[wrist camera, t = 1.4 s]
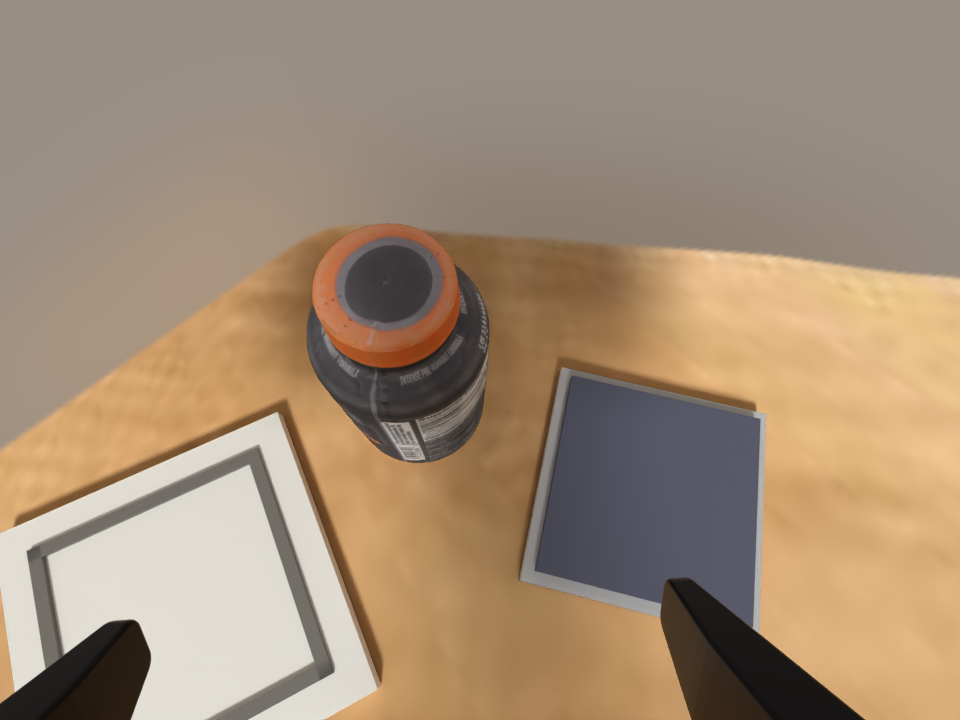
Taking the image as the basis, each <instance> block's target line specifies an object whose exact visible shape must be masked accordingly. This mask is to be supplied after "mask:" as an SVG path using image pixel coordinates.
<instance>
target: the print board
mask: <svg viewBox="0 0 960 720" xmlns="http://www.w3.org/2000/svg"><path fill="white" fill-rule="evenodd" d="M0 588H1V595H2V602H3V609H4V616H5V623H6V631H7V638H8V645H9V652H10V659H11V666H12V673H13V681H14V688H15V692H16V691H17V690H19V689H20V688H21V687H23V686H24V685H25V684H27V683H28V682H29V681H30V680H32V679H33V678H34V677H36V676H37V675H38V674H40V673H41V672H42V671H44V670H45V669H46V668H47V667H49V666H50V665H51V664H53V663H54V662H55V661H57V660H58V659H59V658H61V657H62V656H63V655H65V654H66V653H67V652H68V651H70V650H71V649H72V648H74V647H75V646H76V645H78V644H79V643H80V642H82V641H83V640H84V639H85V638H87V637H88V636H89V635H91V634H92V633H93V632H95V631H96V630H97V629H99V628H100V627H101V626H103V625H104V624H106V623H108V622H110V621H115V620H128V619H133V620H136V621H137V622H139V624H140V626H141V629H142V631H143V634H144V636H145V639H146V641H147V644H148V646H149V649H150V652H151V664H150V668H149V672H148V674H147V677H146V680H145V683H144V685H143V688H142V691H141V694H140V696H139V699H138V702H137V705H136V707H135V710H134V713H133V716H132V718H131V720H324V719H326V718H328V717H329V716H331V715H333V714H335V713H337V712H338V711H340V710H342V709H344V708H346V707H347V706H349V705H351V704H353V703H354V702H356V701H358V700H360V699H362V698H363V697H365V696H367V695H369V694H370V693H372V692H374V691H376V690H378V688H379V687H380V686H381V683H380V680H379V678H378V675H377V672H376V669H375V667H374V664H373V661H372V659H371V656H370V653H369V650H368V648H367V645H366V642H365V639H364V637H363V634H362V631H361V628H360V626H359V623H358V620H357V617H356V615H355V612H354V609H353V607H352V604H351V601H350V598H349V596H348V593H347V590H346V587H345V585H344V582H343V579H342V576H341V574H340V571H339V568H338V565H337V563H336V560H335V557H334V554H333V552H332V549H331V546H330V544H329V541H328V538H327V535H326V533H325V530H324V527H323V524H322V522H321V519H320V516H319V513H318V511H317V508H316V505H315V502H314V500H313V497H312V494H311V492H310V489H309V486H308V483H307V481H306V478H305V475H304V472H303V470H302V467H301V464H300V461H299V459H298V456H297V453H296V450H295V448H294V445H293V442H292V440H291V437H290V434H289V431H288V429H287V426H286V423H285V420H284V418H283V416H282V415H280V414H279V413H278V412H276V413H274V414H271V415H269V416H267V417H265V418H262V419H260V420H258V421H255V422H253V423H251V424H249V425H246V426H244V427H242V428H239V429H237V430H235V431H233V432H230V433H228V434H226V435H223V436H221V437H219V438H217V439H214V440H212V441H210V442H207V443H205V444H203V445H201V446H198V447H196V448H194V449H192V450H189V451H187V452H185V453H182V454H180V455H178V456H176V457H173V458H171V459H169V460H166V461H164V462H162V463H160V464H157V465H155V466H153V467H150V468H148V469H146V470H144V471H141V472H139V473H137V474H134V475H132V476H130V477H128V478H125V479H123V480H121V481H118V482H116V483H114V484H112V485H109V486H107V487H105V488H103V489H100V490H98V491H96V492H93V493H91V494H89V495H87V496H84V497H82V498H80V499H77V500H75V501H73V502H71V503H68V504H66V505H64V506H61V507H59V508H57V509H55V510H52V511H50V512H48V513H45V514H43V515H41V516H39V517H36V518H34V519H32V520H29V521H27V522H25V523H23V524H20V525H18V526H16V527H14V528H11V529H9V530H7V531H4V532H2V533H0Z"/></svg>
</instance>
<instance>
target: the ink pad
mask: <svg viewBox="0 0 960 720" xmlns="http://www.w3.org/2000/svg"><path fill="white" fill-rule="evenodd" d="M765 435H766V414H764V413H759V412H755V411H751V410H746V409H742V408H738V407H733V406H729V405H725V404H720V403H716V402H712V401H707V400H703V399H699V398H694V397H690V396H686V395H681V394H677V393H673V392H668V391H664V390H660V389H655V388H651V387H647V386H642V385H638V384H634V383H629V382H625V381H621V380H616V379H612V378H608V377H603V376H599V375H595V374H590V373H586V372H582V371H577V370H573V369H569V368H564V367H562V368H561V370H560V373H559V378H558V383H557V388H556V393H555V398H554V403H553V408H552V413H551V419H550V424H549V429H548V434H547V439H546V444H545V449H544V454H543V459H542V464H541V469H540V475H539V480H538V485H537V490H536V495H535V500H534V505H533V510H532V515H531V520H530V526H529V531H528V536H527V541H526V546H525V551H524V556H523V561H522V566H521V571H520V577H519V581H523V582H527V583H531V584H535V585H538V586H542V587H546V588H550V589H554V590H557V591H561V592H565V593H569V594H573V595H577V596H580V597H584V598H588V599H592V600H596V601H599V602H603V603H607V604H611V605H615V606H618V607H622V608H626V609H630V610H634V611H638V612H641V613H645V614H649V615H653V616H657V617H660V610H661V603H662V596H663V589H664V584H665V581H666V580H667V579H670V578H683V577H687V578H690V579H692V580H694V581H695V582H696V583H697V584H699V585H700V586H701V587H702V588H704V589H705V590H706V591H707V592H709V593H710V594H711V595H712V596H713V597H715V598H716V599H717V600H718V601H720V602H721V603H722V604H723V605H725V606H726V607H727V608H728V609H730V610H731V611H732V612H733V613H734V614H736V615H737V616H738V617H739V618H741V619H742V620H743V621H744V622H746V623H747V624H748V625H749V626H750V627H752V628H753V629H754V630H755V631H757V632H758V633H759V625H760V593H761V562H762V530H763V498H764V467H765Z"/></svg>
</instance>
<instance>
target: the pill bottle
mask: <svg viewBox="0 0 960 720" xmlns="http://www.w3.org/2000/svg"><path fill="white" fill-rule="evenodd" d="M312 301H313V305H312V308H311V311H310V314H309V318H308V324H307V349H308V353H309V358H310V361H311V364H312V366H313V368H314V371H315V373H316V375H317V377H318V379H319V380H320V381H321V383H322V384H323V386H324V387H325V388H326V389H327V391H328V392H329V393H330V395H331V396H332V397H333V399H335V401H336V402H337V403H338V404H339V405H340V406H341V407H342V409H343V410H344V411H345V412H346V414H347V415H348V416H349V417H350V418H351V419H352V421H353V422H354V423H355V425H356V426H357V427H358V428H359V429H360V430H361V431H362V432H363V433H364V435H365V436H366V437H367V438H368V439H369V440H370V441H371V442H372V443H373V444H374V445H375V446H376V447H377V448H378V449H379V450H380V451H382V452H383V453H385V454H387V455H389V456H391V457H393V458H395V459H398V460H401V461H406V462H411V463H425V462H432V461H436V460H439V459H442V458H444V457H446V456H448V455H450V454H452V453H454V452H455V451H457V450H458V449H459V448H460V447H461V446H463V445H464V444H465V443H466V442H467V441H468V439H469V438H470V437H471V436H472V434H473V433H474V431H475V430H476V428H477V426H478V424H479V421H480V418H481V415H482V410H483V403H484V393H485V384H486V375H487V367H488V343H489V320H488V315H487V310H486V307H485V304H484V301H483V299H482V297H481V295H480V293H479V291H478V289H477V287H476V286H475V285H474V283H473V282H472V281H471V279H470V278H469V277H468V276H467V275H466V274H465V273H464V272H463V271H462V270H461V269H460V268H458V267H457V266H456V265H454V264H453V261H452V259H451V258H450V256H449V254H448V253H447V251H446V250H445V249H444V248H443V246H442V245H441V244H440V243H439V242H438V241H436V240H435V239H434V238H432V237H431V236H429V235H428V234H426V233H425V232H423V231H421V230H418V229H416V228H414V227H410V226H406V225H401V224H377V225H371V226H366V227H364V228H361V229H358V230H356V231H354V232H351V233H349V234H348V235H346V236H344V237H343V238H341V239H340V240H339V241H338V242H336V243H335V244H334V245H333V246H332V247H331V248H330V249H329V250H328V251H327V252H326V253H325V255H324V256H323V258H322V259H321V261H320V263H319V265H318V267H317V269H316V271H315V275H314V279H313V284H312Z"/></svg>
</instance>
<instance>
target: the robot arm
mask: <svg viewBox="0 0 960 720" xmlns="http://www.w3.org/2000/svg"><path fill="white" fill-rule="evenodd" d="M660 619H661V624H662V628H663V632H664V635H665V638H666V641H667V644H668V647H669V651H670V654H671V657H672V660H673V663H674V667H675V670H676V673H677V676H678V679H679V682H680V686H681V689H682V692H683V695H684V698H685V701H686V705H687V708H688V711H689V714H690V717H691V719H692V720H865V719H864V718H863V717H861V716H860V715H859V714H858V713H856V712H855V711H854V710H853V709H851V708H850V707H849V706H848V705H846V704H845V703H844V702H843V701H842V700H840V699H839V698H838V697H837V696H835V695H834V694H833V693H832V692H830V691H829V690H828V689H827V688H826V687H824V686H823V685H822V684H821V683H819V682H818V681H817V680H816V679H814V678H813V677H812V676H811V675H810V674H808V673H807V672H806V671H805V670H803V669H802V668H801V667H800V666H798V665H797V664H796V663H795V662H794V661H792V660H791V659H790V658H789V657H787V656H786V655H785V654H784V653H782V652H781V651H780V650H779V649H778V648H776V647H775V646H774V645H773V644H771V643H770V642H769V641H768V640H766V639H765V638H764V637H763V636H762V635H760V634H759V633H758V632H757V631H755V630H754V629H753V628H752V627H750V626H749V625H748V624H747V623H746V622H744V621H743V620H742V619H741V618H739V617H738V616H737V615H736V614H734V613H733V612H732V611H731V610H730V609H728V608H727V607H726V606H725V605H723V604H722V603H721V602H720V601H718V600H717V599H716V598H715V597H713V596H712V595H711V594H710V593H709V592H707V591H706V590H705V589H704V588H702V587H701V586H700V585H699V584H697V583H696V582H695V581H694V580H692V579H690V578H687V577H683V578H670V579H667V580H666V581H665V584H664V589H663V596H662V603H661V610H660ZM150 664H151V652H150V649H149V646H148V644H147V641H146V639H145V636H144V634H143V631H142V629H141V626H140V624H139V622H137V621H136V620H133V619H128V620H115V621H110V622H108V623H106V624H104V625H103V626H101V627H100V628H99V629H97V630H96V631H95V632H93V633H92V634H91V635H89V636H88V637H87V638H85V639H84V640H83V641H82V642H80V643H79V644H78V645H76V646H75V647H74V648H72V649H71V650H70V651H68V652H67V653H66V654H65V655H63V656H62V657H61V658H59V659H58V660H57V661H55V662H54V663H53V664H51V665H50V666H49V667H47V668H46V669H45V670H44V671H42V672H41V673H40V674H38V675H37V676H36V677H34V678H33V679H32V680H30V681H29V682H28V683H27V684H25V685H24V686H23V687H21V688H20V689H19V690H17V691H16V692H15V693H13V694H12V695H11V696H9V697H8V698H7V699H6V700H4V701H3V702H2V703H0V720H131V718H132V716H133V713H134V710H135V707H136V705H137V702H138V699H139V696H140V694H141V691H142V688H143V685H144V683H145V680H146V677H147V674H148V672H149V668H150Z"/></svg>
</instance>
